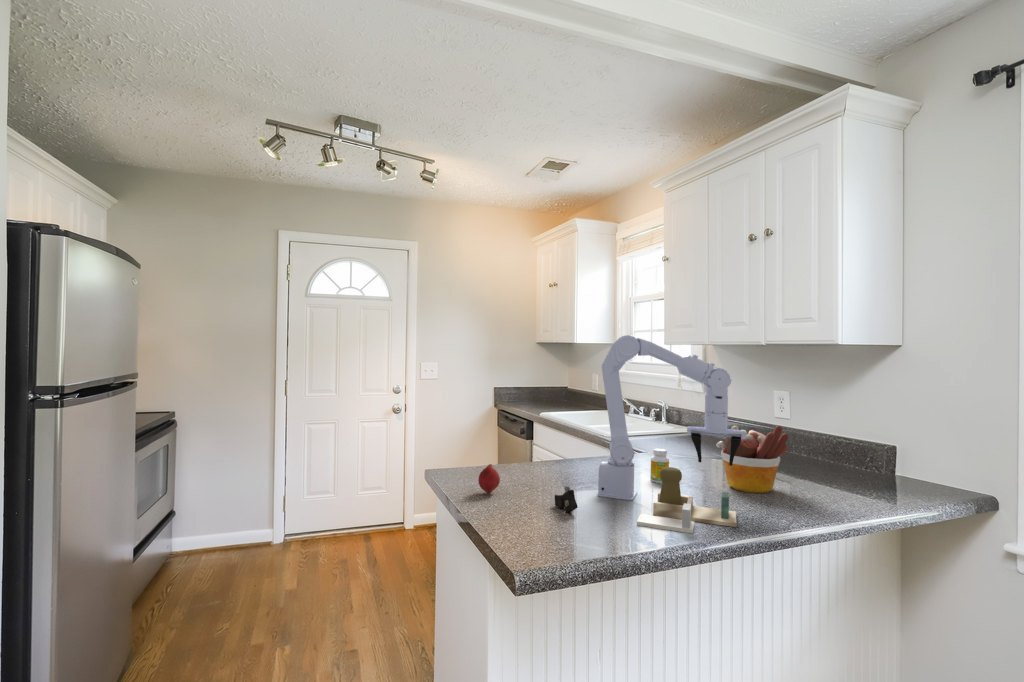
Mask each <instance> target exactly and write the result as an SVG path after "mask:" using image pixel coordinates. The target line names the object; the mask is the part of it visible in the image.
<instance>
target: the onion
mask: <svg viewBox="0 0 1024 682" xmlns="http://www.w3.org/2000/svg"><path fill="white" fill-rule="evenodd" d="M500 479H501V478H500V474H499V472H498V471H497V470H496V469H495V468H494V467H493V464H492V463H488V465H486V467H485V468H483V469H482V471H480V472H479V475H478V486H479V487H480V488H481V490H483V492H485V493H487V494H492V492H493V491H495V490H496V489H497V488H498V487H499V484H500V482H501V480H500Z"/></svg>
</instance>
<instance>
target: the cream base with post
mask: <svg viewBox="0 0 1024 682" xmlns="http://www.w3.org/2000/svg"><path fill="white" fill-rule="evenodd" d="M636 526H641V527H646V528H647V527H648V528H655V529H661V530H667V531H673V532H674V531H675V532H681V533H687V534H692V535H693V533H694V530H695V529H694V528H695V521H691V504H686V503H684V505H683V509H682V519H676V518H669V517H662V516H655V515H653V514H652V515H650V514H643V513H640V515H639V517H638V519H637V521H636Z"/></svg>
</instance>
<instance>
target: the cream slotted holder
mask: <svg viewBox="0 0 1024 682" xmlns="http://www.w3.org/2000/svg"><path fill="white" fill-rule="evenodd" d="M720 497H721V501H720V502H721V505H720V506H721V509H720V508H714V507H712V508H711V507H705V506H697V505H694V497H693V496H686V495H681V501H682V505H675V504H668V503H660V502H659V499H660V492H658V493H657V501H653V503H652V505H653V507H652V516H659V517H666V518H673V519H679V520H682V509H683V505H684V503H686V504H691V521H693V522H696V523H697V522H698V523H706V524H710V525H711V524H712V525H718V526H726V527H733V528H738V522H737V511H734V510H730V495H729V492H728V491H721V496H720Z"/></svg>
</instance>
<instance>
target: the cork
mask: <svg viewBox="0 0 1024 682" xmlns="http://www.w3.org/2000/svg"><path fill="white" fill-rule="evenodd" d="M660 477H661V479H662V483H661V487H660V492H659V493H660V499H659V502H660V503H668V504H675V505H682V501H681V496H682V494H681V493H682V492H681V486H680V482H681V481H682V479H683V475H682V471H681V470H680V469H679V468H677V467H671V466H669V467H665V468H662V469H661V471H660Z"/></svg>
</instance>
